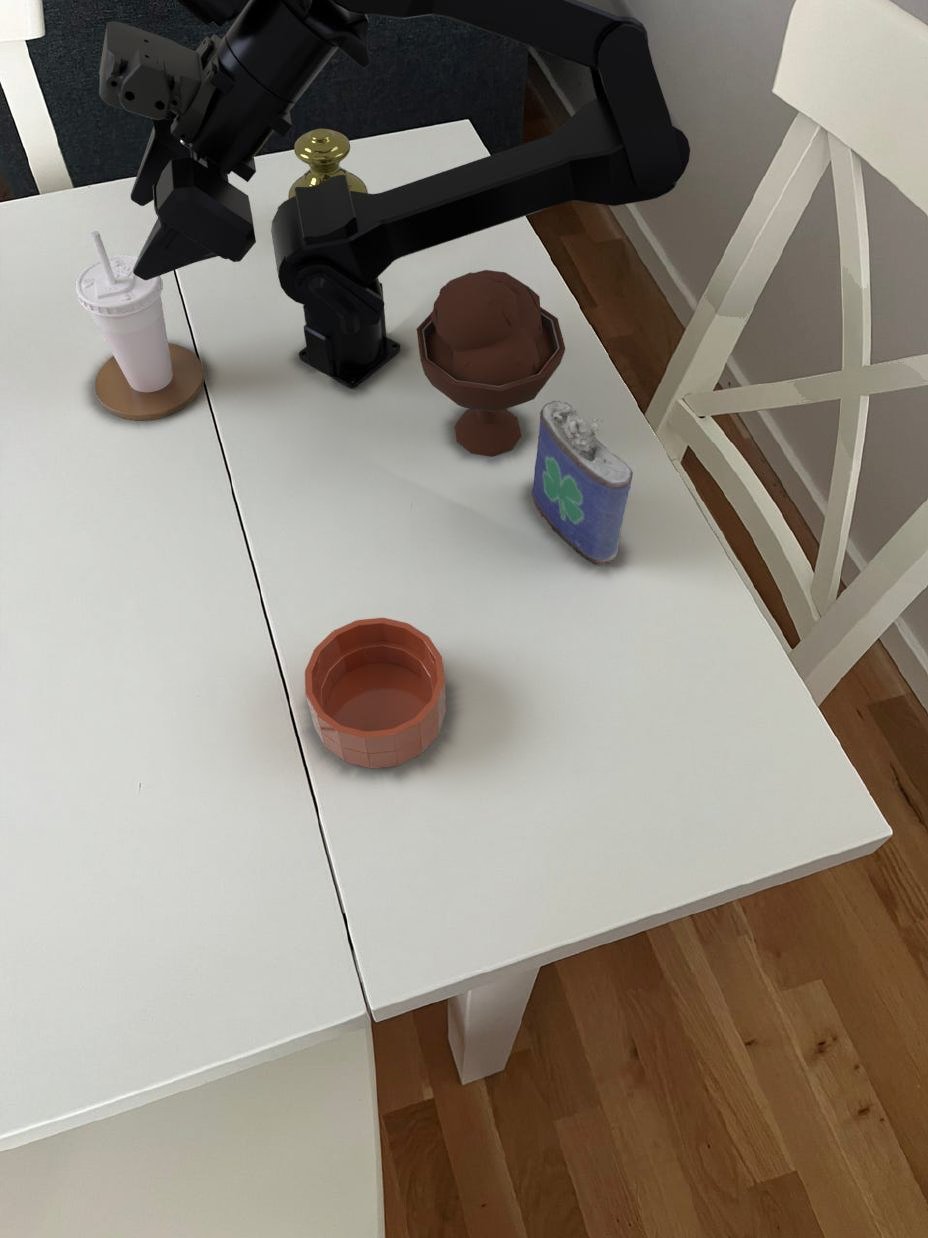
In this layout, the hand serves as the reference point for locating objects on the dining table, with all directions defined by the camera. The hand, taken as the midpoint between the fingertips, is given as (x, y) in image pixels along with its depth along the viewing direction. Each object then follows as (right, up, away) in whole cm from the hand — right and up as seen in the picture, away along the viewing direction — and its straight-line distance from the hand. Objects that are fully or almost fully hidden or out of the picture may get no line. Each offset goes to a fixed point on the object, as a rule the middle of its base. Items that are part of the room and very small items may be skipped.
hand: (137, 237), depth 73 cm
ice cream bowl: (+26, -13, +8) cm, 30 cm away
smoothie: (-2, -8, +11) cm, 13 cm away
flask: (+32, -21, +2) cm, 38 cm away
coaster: (-3, -8, +11) cm, 14 cm away
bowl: (+18, -34, -7) cm, 39 cm away
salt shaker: (+11, +9, +23) cm, 27 cm away
